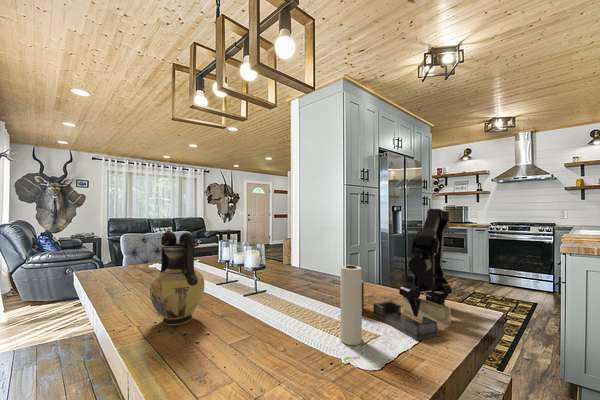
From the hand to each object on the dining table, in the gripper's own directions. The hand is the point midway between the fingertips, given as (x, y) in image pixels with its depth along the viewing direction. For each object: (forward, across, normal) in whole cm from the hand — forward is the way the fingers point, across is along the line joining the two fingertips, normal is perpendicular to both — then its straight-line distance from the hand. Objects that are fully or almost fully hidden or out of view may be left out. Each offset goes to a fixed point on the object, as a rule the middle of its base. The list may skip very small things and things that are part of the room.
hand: (425, 314), depth 99 cm
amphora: (+2, +81, -28) cm, 86 cm away
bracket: (+1, +11, +1) cm, 11 cm away
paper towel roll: (+2, +33, +5) cm, 33 cm away
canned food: (+2, +19, -17) cm, 26 cm away
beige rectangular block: (+2, 0, 0) cm, 2 cm away
